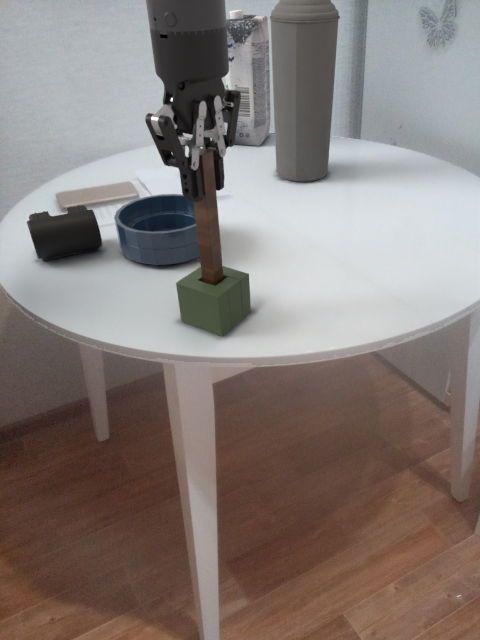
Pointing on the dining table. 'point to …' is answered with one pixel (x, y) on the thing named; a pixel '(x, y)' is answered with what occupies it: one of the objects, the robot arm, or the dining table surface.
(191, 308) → the holder
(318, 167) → the canister
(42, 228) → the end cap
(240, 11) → the juice carton
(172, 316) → the dining table surface
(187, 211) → the bowl
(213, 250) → the stick
